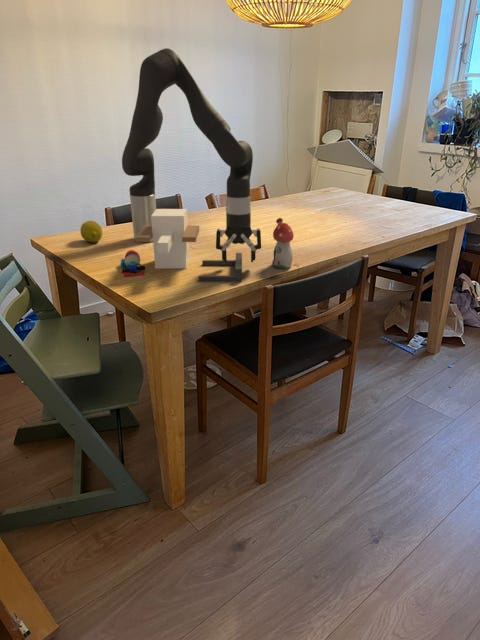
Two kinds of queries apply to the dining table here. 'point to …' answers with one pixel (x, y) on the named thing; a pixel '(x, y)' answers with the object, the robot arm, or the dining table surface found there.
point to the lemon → (91, 231)
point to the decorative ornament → (282, 245)
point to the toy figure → (132, 264)
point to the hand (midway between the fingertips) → (238, 261)
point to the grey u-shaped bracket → (224, 278)
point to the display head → (169, 237)
